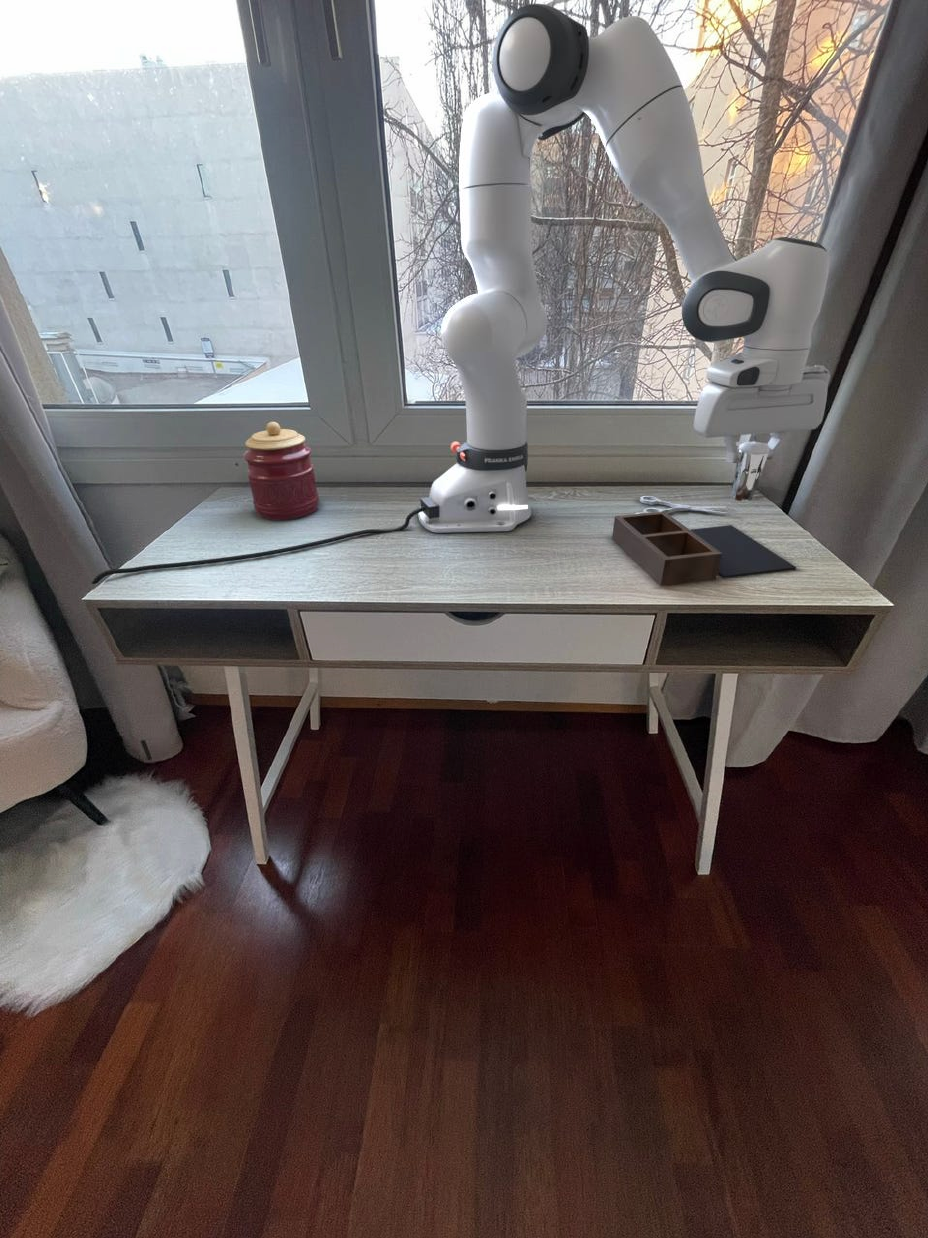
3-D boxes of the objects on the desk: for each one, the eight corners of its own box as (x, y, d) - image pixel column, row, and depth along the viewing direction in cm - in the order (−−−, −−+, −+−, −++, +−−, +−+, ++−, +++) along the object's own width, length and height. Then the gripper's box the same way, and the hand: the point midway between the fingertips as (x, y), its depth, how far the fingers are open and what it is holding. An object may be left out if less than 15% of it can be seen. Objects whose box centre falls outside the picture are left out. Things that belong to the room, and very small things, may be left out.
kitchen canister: (311, 521, 117) (296, 430, 107) (246, 521, 117) (226, 430, 108) (326, 498, 128) (313, 413, 118) (266, 498, 128) (249, 414, 119)
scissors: (632, 495, 123) (734, 499, 120) (632, 498, 124) (733, 503, 120) (634, 513, 115) (744, 519, 111) (634, 517, 115) (743, 523, 111)
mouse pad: (723, 578, 93) (723, 576, 93) (666, 533, 108) (667, 531, 108) (795, 569, 95) (796, 567, 95) (730, 527, 110) (731, 525, 110)
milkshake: (754, 493, 99) (771, 433, 94) (756, 504, 95) (774, 441, 89) (725, 490, 100) (740, 430, 95) (726, 500, 96) (742, 438, 91)
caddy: (660, 586, 91) (665, 560, 89) (611, 539, 107) (614, 516, 104) (716, 579, 93) (722, 553, 91) (660, 534, 108) (664, 511, 106)
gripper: (817, 361, 91) (793, 450, 99) (697, 368, 88) (681, 460, 95) (848, 367, 86) (820, 461, 93) (721, 375, 83) (702, 471, 90)
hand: (749, 460), depth 94 cm, fingers closed on milkshake, 4 cm apart
